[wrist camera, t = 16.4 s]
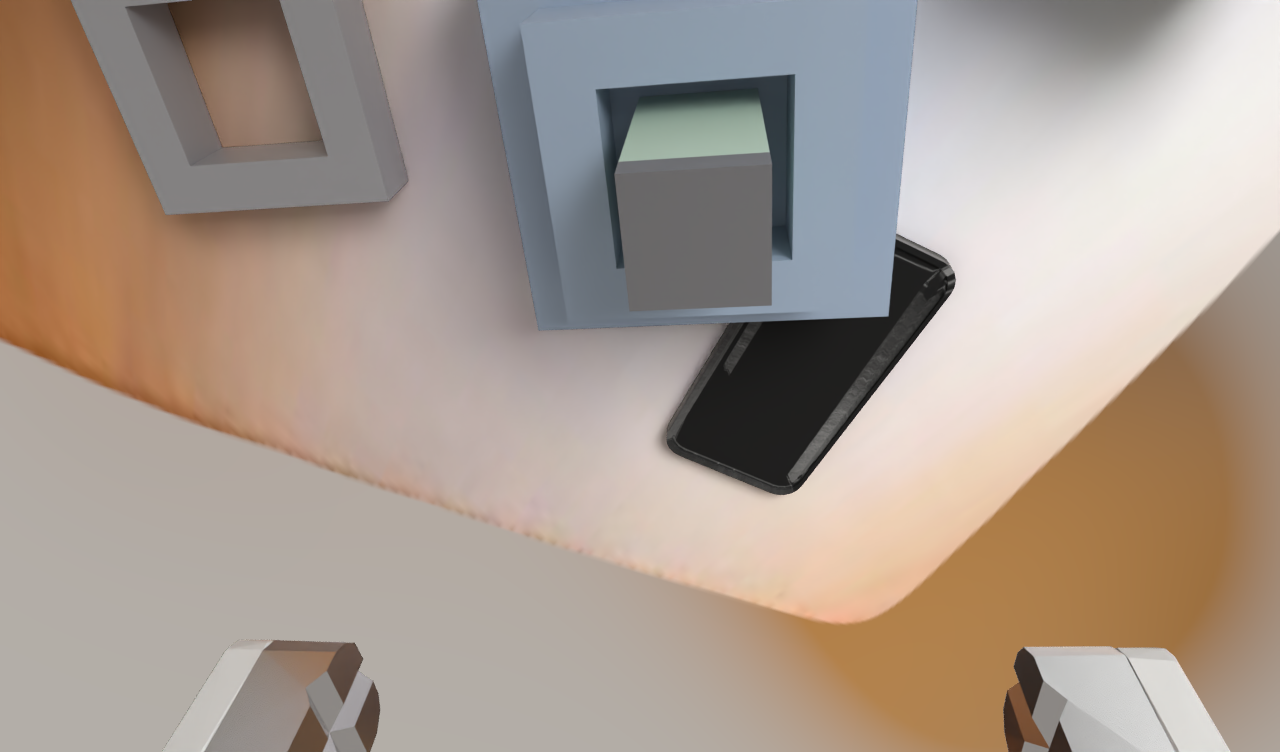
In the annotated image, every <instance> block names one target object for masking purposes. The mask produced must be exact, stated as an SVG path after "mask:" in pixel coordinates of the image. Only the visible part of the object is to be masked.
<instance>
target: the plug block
mask: <svg viewBox="0 0 1280 752" xmlns="http://www.w3.org/2000/svg"><path fill="white" fill-rule="evenodd" d="M614 175H615V184H616V193H617V203H618V212H619V221H620V230H621V239H622V248H623V257H624V266H625V275H626V284H627V293H628V303H629V311H653V310H677V309H701V308H725V307H749V306H772V161H771V156H770V151H769V146H768V140H767V135H766V130H765V125H764V119H763V114H762V109H761V104H760V99H759V93H758V88H754V89H740V90H727V91H713V92H699V93H686V94H672V95H659V96H645V97H639V100H638V103H637V106H636V109H635V112H634V115H633V118H632V122H631V125H630V128H629V131H628V134H627V137H626V140H625V143H624V146H623V149H622V152H621V155H620V158H619V161H618V165H617V168H616V171H615V174H614Z"/></svg>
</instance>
